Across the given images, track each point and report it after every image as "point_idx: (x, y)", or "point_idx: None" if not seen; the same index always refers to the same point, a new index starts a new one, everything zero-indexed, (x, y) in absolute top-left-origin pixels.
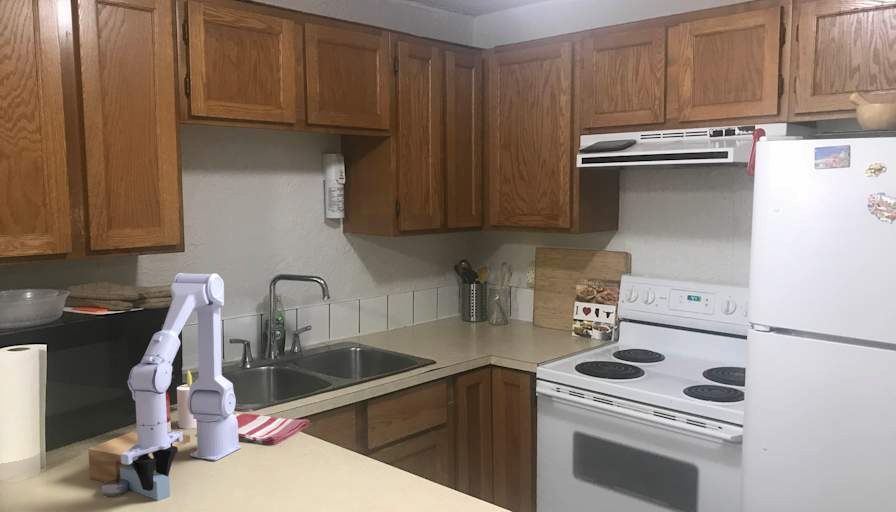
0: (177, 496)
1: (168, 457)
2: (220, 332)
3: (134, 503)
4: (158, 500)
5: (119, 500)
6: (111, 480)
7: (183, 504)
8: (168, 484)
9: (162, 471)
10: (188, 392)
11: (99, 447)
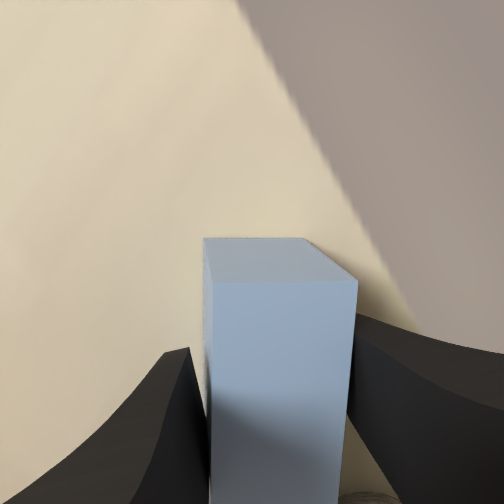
0: (175, 184)
1: (141, 501)
2: None
3: (402, 328)
4: (297, 238)
5: None
6: None
7: (238, 7)
8: (217, 262)
9: (188, 436)
10: None
11: None
